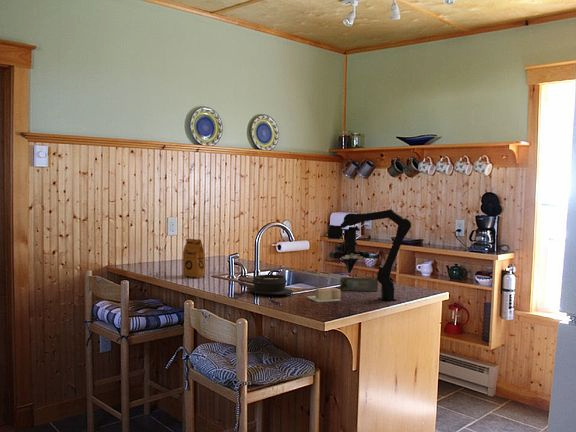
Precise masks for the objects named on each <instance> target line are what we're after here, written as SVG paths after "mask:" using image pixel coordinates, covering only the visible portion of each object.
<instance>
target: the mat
mask: <svg viewBox="0 0 576 432" xmlns="http://www.w3.org/2000/svg"><path fill="white" fill-rule="evenodd" d="M306 298H307V299H310V300H312V301H314V302H316V303H326V302H327V303H329V302H342V299H326V300H320V299H318V298H316V295H312V296H307V297H306Z"/></svg>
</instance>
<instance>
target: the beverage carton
mask: <svg viewBox="0 0 576 432" xmlns="http://www.w3.org/2000/svg"><path fill="white" fill-rule="evenodd" d="M339 281H340V285H339V286H340V289H339V290H341V291H357V292H358V291H359V292H363V291H364V292H378V287H379V286H378V285H379V282H378V280H377V277H374V276H368V277H367V276H366V277H361V276H360V277H354V276H347V277H345V276H341V277H340V279H339Z"/></svg>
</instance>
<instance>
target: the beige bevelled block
mask: <svg viewBox="0 0 576 432" xmlns="http://www.w3.org/2000/svg"><path fill="white" fill-rule="evenodd" d="M341 293H342V290H340V289H339V288H336V287H328V288H327V287H325V288H323V287H322V288H315V296H316V298H318V299H320V300H326V299H340V300H342V299H341V297H342V295H341Z"/></svg>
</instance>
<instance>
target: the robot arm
mask: <svg viewBox="0 0 576 432" xmlns="http://www.w3.org/2000/svg"><path fill="white" fill-rule="evenodd" d="M382 219H383V220H384V219H388V220H390V221H392V222H394V223H395V224H396V225H397V229H396V235H395V238H394V241H393V242H392V245H391V248H390V251H389V252H388V255H387V257H386V260H385V262H384V264H383V265H381V264H380V265H379V267H378V271H377V273H376V278H377V280H378V284H380V285H381V286H380V287H381V288H380V297H378V299H379V300H381V301H384V302H388V301H389V302H390V301H397V300H398V299H397V298H396V297H395V280H394V278H392V277H391V274H392V271H393V266H394V262H395V261H396V258H397V255H398V253H399V251H400V248H401V246H402V243H403V241H404V239H405V237H406V236H407V234H408V233H409V231H410V229H411V228H412V222H411V220H410V219H408V218H407V217H405V218H404V217H402V216H401V215H400V214H398V213H396V212H395V211H394V210H393V209H392V208H391V209H386V210H380V211H373V212H367V213H356V212H355V213H353V212H350V213H347V214H346V215H344V218H343V221H342V223H340V225H335V224H329V225H328V229H327V230H328V231H327V239H328V240H338V241H339V240H341V238H343V241H342V243H341V244H340V243H336V244H334V251H330V252H329V256H328V257H329V258H331V259H337V260H342V261H343V262H344V265H345V268H346V270H347V273H348V274H351V272H352V270H353V269H354V266H355V264H356V263H357V262H358V261H359V260H360V259H359V258H358V257H363V259H367V258H368V259H369V258H370V256H371V254H370V252H369V251H368V250H357V246H358V242H357V232H360V231H361V228H360V227H359V226H358V225H359V224H362V223H364V222H371V221H376V220H378V221H379V220H382ZM355 225H356V226H355ZM346 227H348V228H346Z"/></svg>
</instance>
